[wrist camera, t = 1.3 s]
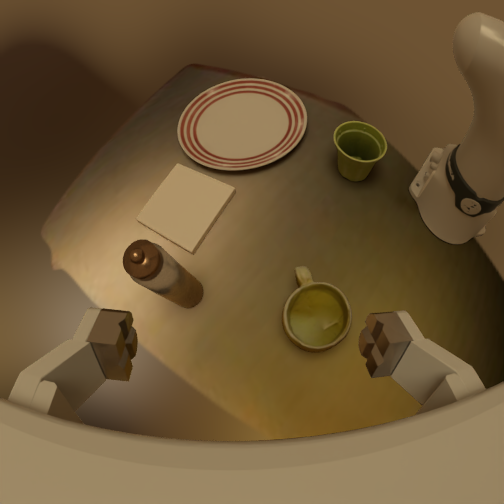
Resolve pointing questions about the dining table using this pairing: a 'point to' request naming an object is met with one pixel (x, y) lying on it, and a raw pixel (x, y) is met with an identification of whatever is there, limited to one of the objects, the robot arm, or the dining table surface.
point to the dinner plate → (242, 124)
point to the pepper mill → (161, 274)
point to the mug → (315, 314)
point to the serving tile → (186, 207)
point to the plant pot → (358, 149)
